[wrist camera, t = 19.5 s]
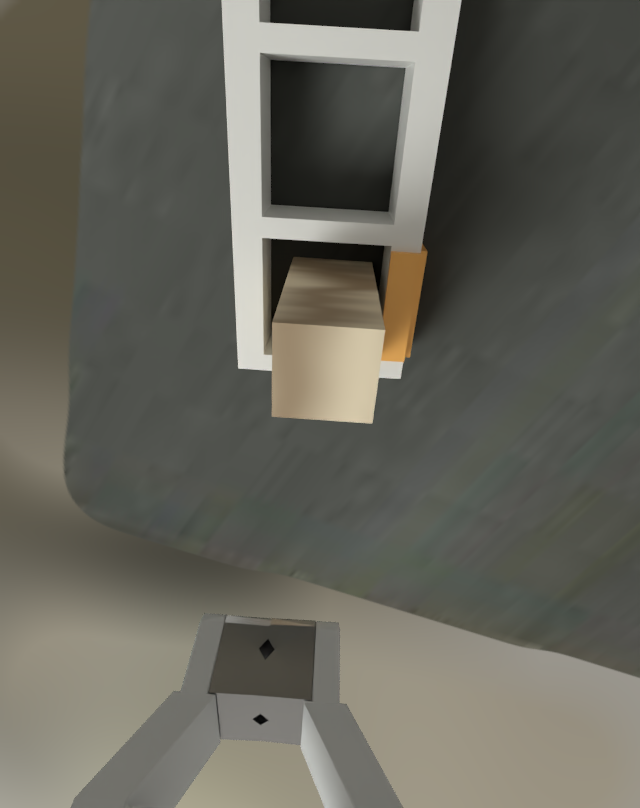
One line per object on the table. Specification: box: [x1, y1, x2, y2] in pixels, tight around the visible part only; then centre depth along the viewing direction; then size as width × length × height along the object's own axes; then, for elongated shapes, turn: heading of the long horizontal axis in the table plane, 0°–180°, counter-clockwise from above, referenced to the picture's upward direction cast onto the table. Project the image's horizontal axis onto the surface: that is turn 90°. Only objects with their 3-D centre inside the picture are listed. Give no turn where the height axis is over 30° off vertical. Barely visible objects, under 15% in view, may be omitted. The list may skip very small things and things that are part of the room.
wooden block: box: [272, 257, 385, 423], centre depth 25 cm, size 5×5×10 cm
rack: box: [222, 0, 461, 379], centre depth 23 cm, size 10×24×4 cm, turn 177°
